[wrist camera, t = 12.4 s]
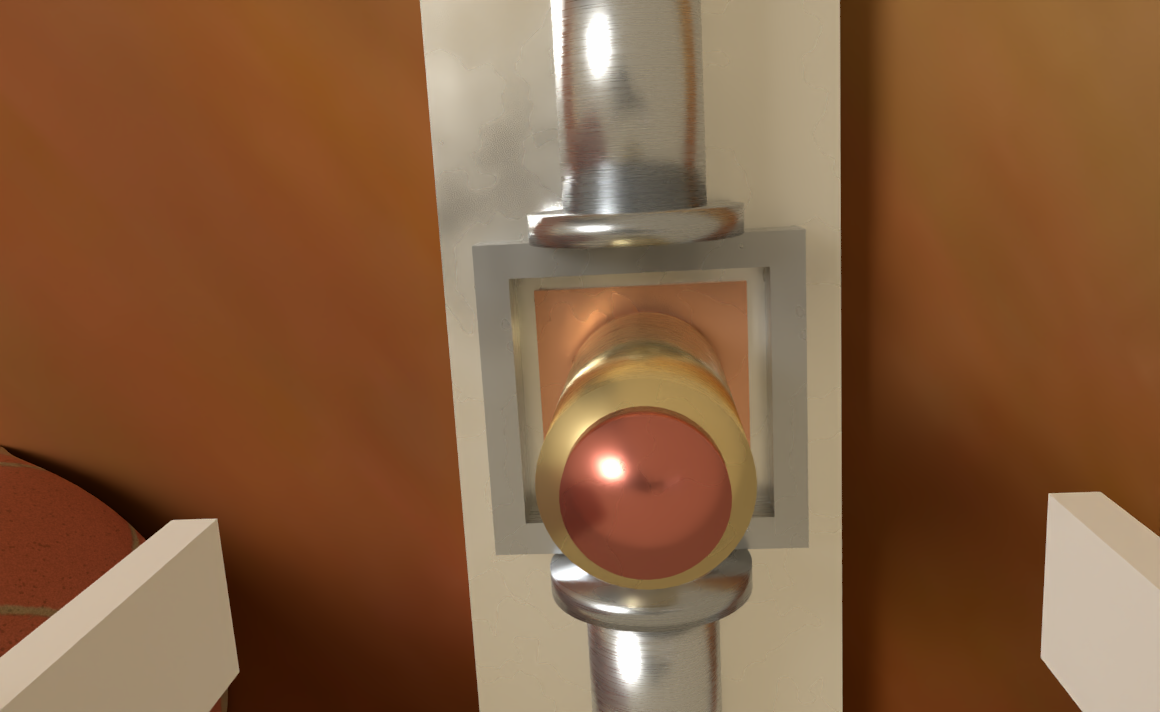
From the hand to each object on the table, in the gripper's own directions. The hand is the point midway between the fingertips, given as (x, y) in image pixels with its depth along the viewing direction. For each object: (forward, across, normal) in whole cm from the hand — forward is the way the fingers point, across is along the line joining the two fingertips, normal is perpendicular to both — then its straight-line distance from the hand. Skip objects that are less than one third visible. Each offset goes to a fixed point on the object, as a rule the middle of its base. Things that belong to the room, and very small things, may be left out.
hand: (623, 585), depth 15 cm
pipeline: (+16, 0, -1) cm, 16 cm away
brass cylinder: (+15, 0, -1) cm, 15 cm away
